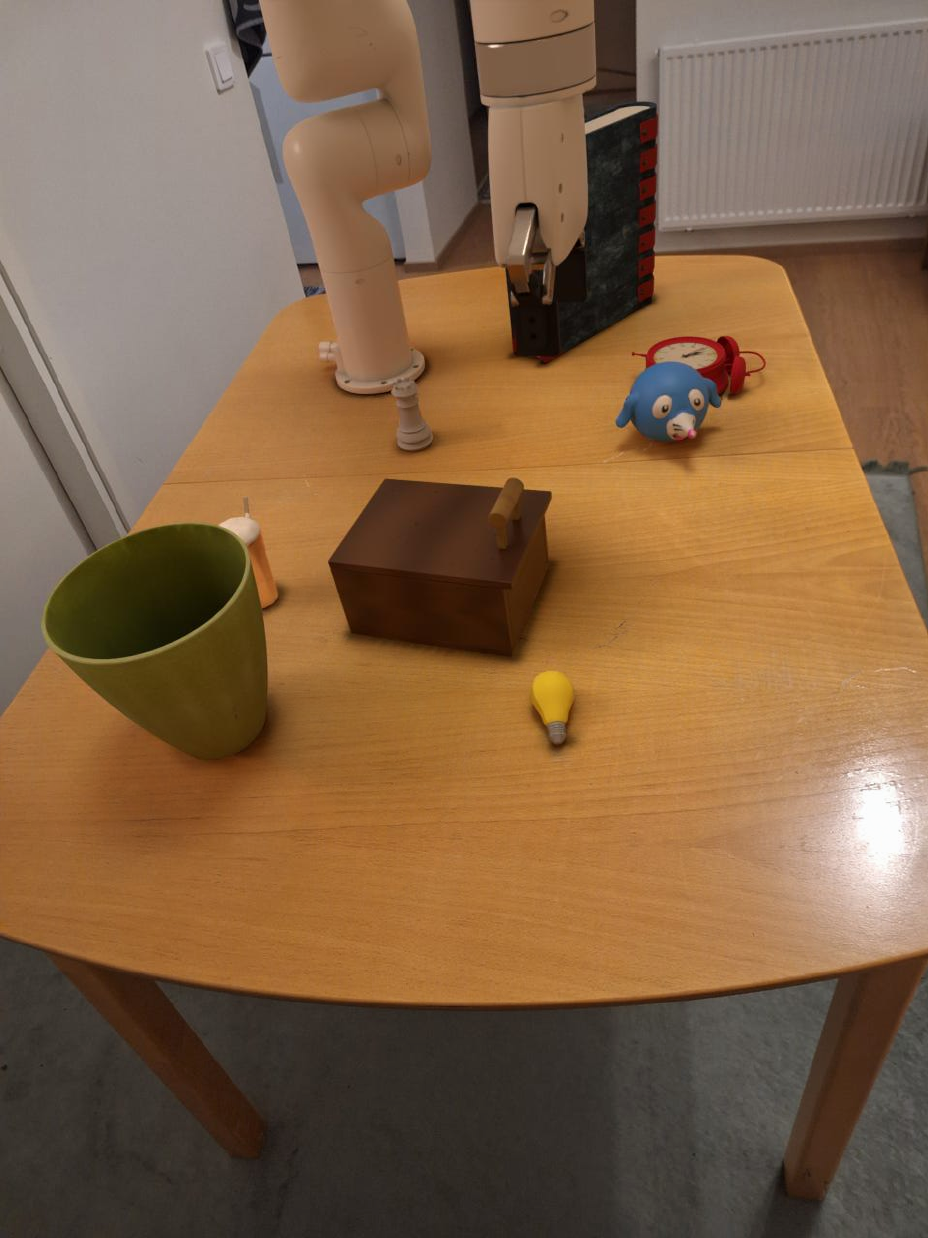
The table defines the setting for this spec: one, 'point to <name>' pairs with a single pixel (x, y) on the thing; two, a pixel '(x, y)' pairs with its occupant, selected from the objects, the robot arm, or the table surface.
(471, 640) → the chest
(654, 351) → the alarm clock
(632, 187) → the book
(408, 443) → the rook chess piece
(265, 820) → the table surface
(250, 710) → the flower pot
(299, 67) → the robot arm
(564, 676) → the light bulb
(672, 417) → the blue dog toy
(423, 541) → the lid
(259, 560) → the milkshake
